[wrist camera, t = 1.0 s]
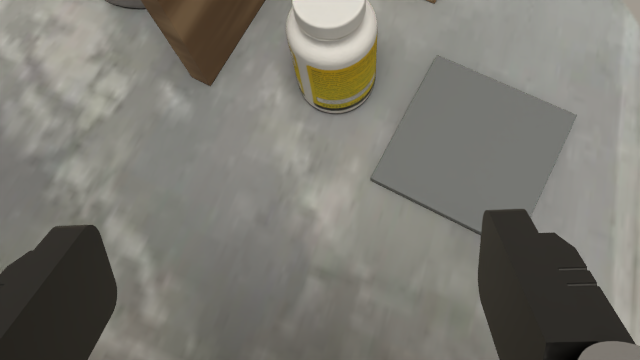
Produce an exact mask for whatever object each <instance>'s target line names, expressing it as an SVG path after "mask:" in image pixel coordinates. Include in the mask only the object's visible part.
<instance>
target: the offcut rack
mask: <svg viewBox="0 0 640 360" xmlns="http://www.w3.org/2000/svg"><path fill="white" fill-rule="evenodd" d="M141 1H142V3H143V4H144V6H145V7H146V9H147V10H148V12H149V13H150V15H151V16H152V18H153V19H154V21H155V22H156V24H157V25H158V27H159V28H160V30H161V31H162V33H163V34H164V36H165V37H166V39H167V40H168V42H169V43H170V45H171V46H172V48H173V49H174V51H175V52H176V54H177V55H178V57H179V58H180V60H181V61H182V63H183V64H184V66H185V67H186V69H187V70H188V72H189V73H190V75H191V76H192V77H193V78H195V79H197V80H199V81H201V82H203V83H205V84H207V85H209V86H211V84H212V83H213V81H214V80H215V78H216V77H217V75H218V73H219V72H220V70H221V69H222V67H223V66H224V64H225V62H226V61H227V59H228V58H229V56H230V55H231V53H232V51H233V50H234V48H235V47H236V45H237V44H238V42H239V40H240V39H241V37H242V36H243V34H244V33H245V31H246V29H247V28H248V26H249V25H250V23H251V22H252V20H253V18H254V17H255V15H256V14H257V12H258V11H259V9H260V7H261V6H262V4H263V3H264V1H265V0H141ZM427 1H429V2H432V3H434V4H435V2H436V0H427Z"/></svg>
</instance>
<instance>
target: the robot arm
mask: <svg viewBox="0 0 640 360" xmlns="http://www.w3.org/2000/svg"><path fill="white" fill-rule="evenodd" d="M478 287H479V294H480V300H481V303H482V307H483V310H484V313H485V316H486V319H487V322H488V325H489V328H490V331H491V335H492V338H493V341H494V344H495V347H496V350H497V353H498V356H499V359H500V360H640V346H638V345H636V344H635V342H634V341H633V339H632V338H631V336H630V334H629V333H628V331H627V330H626V328H625V327H624V325H623V323H622V322H621V320H620V319H619V317H618V315H617V314H616V312H615V311H614V309H613V307H612V306H611V304H610V303H609V301H608V299H607V298H606V296H605V295H604V293H603V291H602V290H601V288H600V287H599V286H597V282H596V280H595V279H594V277H593V276H592V274H591V272H590V271H587V266H586V264H585V263H584V261H583V260H582V258H581V256H580V255H579V253H578V252H577V250H576V249H575V248H574V247H573V246H572V245H570V244H569V243H568V242H566V241H565V240H564V239H562V238H561V237H559V236H558V235H557V234H555V233H538V231H537V229H536V227H535V225H534V224H533V222H532V220H531V218H530V216H529V214H528V213H527V211H526V210H525V209H501V210H486V211H485V212H484V214H483V220H482V231H481V243H480V255H479V267H478ZM116 300H117V286H116V282H115V278H114V275H113V272H112V269H111V266H110V263H109V260H108V257H107V254H106V251H105V247H104V244H103V241H102V238H101V235H100V233H99V231H98V229H97V228H96V227H95V226H93V225H74V226H56V227H54V228H53V229H51V230H50V232H49V233H48V234H47V235H46V236H45V238H44V239H43V240H42V241H41V242H40V243H39V245H38V246H37V247H36V248H35V249H34V250H33V251H29V252H28V253H26V254H25V255H23V256H22V257H21V258H19V259H18V260H16V261H15V262H13V263H12V264H10V265H9V266H7V267H6V269H5V270H4V271H3V272H2V273H1V274H0V360H88V358H89V356H90V354H91V352H92V350H93V349H94V347H95V345H96V343H97V341H98V339H99V338H100V336H101V334H102V332H103V330H104V328H105V326H106V325H107V323H108V321H109V319H110V317H111V315H112V314H113V311H114V309H115V305H116Z"/></svg>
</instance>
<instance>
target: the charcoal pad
mask: <svg viewBox="0 0 640 360" xmlns="http://www.w3.org/2000/svg"><path fill="white" fill-rule="evenodd" d="M576 116H577V115H575V114H573V113H571V112H568V111H566V110H564V109H562V108H559V107H557V106H555V105H552V104H550V103H548V102H545V101H543V100H541V99H538V98H536V97H534V96H531V95H529V94H527V93H524V92H522V91H520V90H517V89H515V88H513V87H510V86H508V85H506V84H504V83H501V82H499V81H497V80H494V79H492V78H490V77H487V76H485V75H483V74H480V73H478V72H476V71H473V70H471V69H469V68H466V67H464V66H462V65H459V64H457V63H455V62H452V61H450V60H448V59H446V58H443V57H441V56H439V55H437V56H436V58H435V60H434V61H433V63H432V65H431V67H430V69H429V71H428V73H427V74H426V76H425V78H424V80H423V82H422V84H421V86H420V87H419V89H418V91H417V93H416V95H415V97H414V99H413V100H412V102H411V104H410V106H409V108H408V110H407V112H406V113H405V115H404V117H403V119H402V121H401V123H400V125H399V126H398V128H397V130H396V132H395V134H394V136H393V138H392V139H391V141H390V143H389V145H388V147H387V149H386V151H385V152H384V154H383V156H382V158H381V160H380V162H379V164H378V165H377V167H376V169H375V171H374V173H373V175H372V177H371V181H373V182H375V183H377V184H379V185H381V186H383V187H385V188H387V189H389V190H391V191H393V192H395V193H397V194H399V195H401V196H403V197H405V198H407V199H409V200H411V201H413V202H415V203H417V204H419V205H421V206H423V207H425V208H427V209H429V210H431V211H433V212H435V213H437V214H439V215H441V216H443V217H445V218H447V219H450V220H452V221H454V222H456V223H458V224H460V225H462V226H464V227H466V228H468V229H470V230H472V231H474V232H476V233H478V234H480V235H481V231H482V220H483V214H484V212H485V211H486V210H501V209H525V210H526V211H527V213H528V214H529V216H530V217H531V215H532V212H533V210H534V208H535V206H536V204H537V202H538V199H539V197H540V195H541V193H542V191H543V188H544V186H545V184H546V182H547V180H548V178H549V175H550V173H551V171H552V169H553V167H554V164H555V162H556V160H557V158H558V156H559V154H560V151H561V149H562V147H563V145H564V143H565V140H566V138H567V136H568V134H569V132H570V130H571V127H572V125H573V123H574V121H575V119H576Z"/></svg>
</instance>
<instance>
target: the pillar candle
mask: <svg viewBox="0 0 640 360" xmlns="http://www.w3.org/2000/svg"><path fill="white" fill-rule="evenodd" d="M105 1H107V2H109V3H111V4H115V5H119V6H123V7H130V8H146V7H145V6H144V4H143V3H142V1H141V0H105Z"/></svg>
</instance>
